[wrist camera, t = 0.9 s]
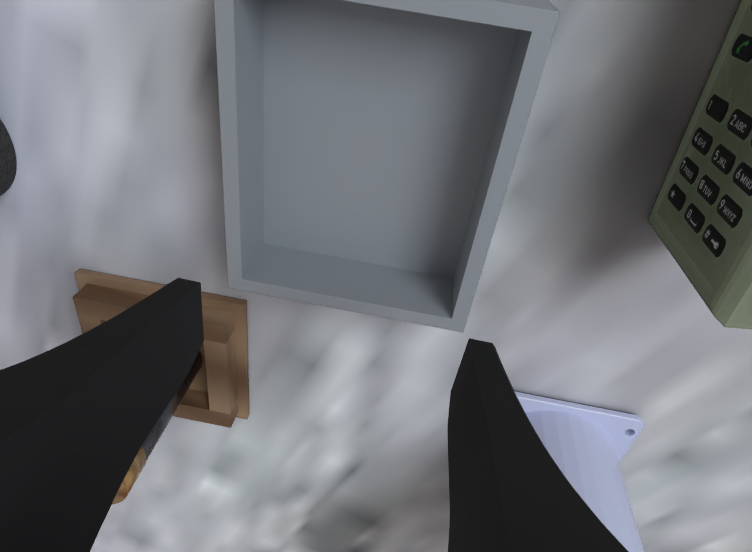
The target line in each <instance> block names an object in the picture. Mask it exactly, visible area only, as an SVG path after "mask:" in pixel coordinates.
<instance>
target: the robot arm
mask: <svg viewBox="0 0 752 552" xmlns="http://www.w3.org/2000/svg"><path fill="white" fill-rule="evenodd" d="M203 341H204V331H203V315H202V299H201V283H200V282H195V281H190V280H185V279H181V278H177V279H176V280H174V281H172V282H171V283H169V284H167V285H166V286H164V287H162V288H161V289H159V290H158V291H156V292H154V293H153V294H151V295H150V296H148V297H146V298H145V299H143V300H141V301H140V302H138V303H136V304H135V305H133V306H131V307H130V308H128V309H126V310H125V311H123V312H121V313H120V314H118V315H116V316H115V317H113V318H111V319H109V320H108V321H106V322H104V323H102V324H100V325H98V326H97V327H95V328H93V329H91V330H89V331H87V332H85V333H84V334H82V335H80V336H78V337H76V338H74V339H72V340H70V341H68V342H66V343H64V344H62V345H60V346H58V347H56V348H53V349H51V350H49V351H47V352H44V353H42V354H40V355H38V356H35V357H33V358H31V359H28V360H26V361H24V362H21V363H18V364H16V365H13V366H10V367H8V368H5V369H2V370H0V552H90V550H91V548H92V545H93V543H94V541H95V539H96V537H97V534H98V532H99V530H100V528H101V526H102V523H103V521H104V519H105V517H106V515H107V513H108V511H109V509H110V507H111V505H112V503H113V501H114V498H115V496H116V494H117V492H118V490H119V488H120V486H121V484H122V482H123V480H124V478H125V476H126V474H127V472H128V471H129V469H130V467H131V465H132V463H133V461H134V459H135V457H136V455H137V453H138V452H139V450H140V448H141V447H142V445H143V443H144V441H145V440H146V438H147V437H148V435H149V434H150V432H151V431H152V429H153V427H154V426H155V424H156V423H157V421H158V420H159V418H160V417H161V415H162V414H163V412H164V410H165V409H166V407H167V406H168V404H169V403H170V401H171V400H172V398H173V397H174V395H175V393H176V392H177V390H178V389H179V387H180V386H181V384H182V382H183V381H184V379H185V378H186V376H187V374H188V373H189V371H190V369H191V367H192V365H193V363H194V361H195V359H196V356H197V354H198V352H199V350H200V348H201V345H202V343H203ZM643 426H644V424H643V421H642V418H641V417H640V416H637V415H633V414H628V413H623V412H618V411H613V410H607V409H602V408H597V407H592V406H587V405H582V404H576V403H571V402H566V401H561V400H556V399H551V398H545V397H540V396H535V395H530V394H525V393H520V392H515V391H514V390H513V388H512V385H511V383H510V381H509V379H508V377H507V375H506V372H505V370H504V368H503V365H502V363H501V361H500V358H499V356H498V353H497V351H496V348H495V347H494V345H493V343H489V342H484V341H479V340H474V339H470V338H469V340H468V343H467V346H466V349H465V352H464V355H463V358H462V361H461V364H460V367H459V369H458V372H457V375H456V378H455V381H454V384H453V387H452V390H451V395H450V406H449V417H448V461H449V492H450V529H449V544H448V552H644V550H643V546H642V543H641V539H640V536H639V532H638V529H637V525H636V522H635V518H634V515H633V511H632V508H631V504H630V501H629V497H628V494H627V491H626V487H625V484H624V480H623V477H622V473H621V470H620V466H619V463H620V461H621V460H622V458H623V457H624V455H625V454H626V452H627V451H628V449H629V448H630V446H631V445H632V443H633V442H634V440H635V439H636V437H637V436H638V434H639V433H640V431H641V430H642V428H643ZM628 429H629V430H628Z"/></svg>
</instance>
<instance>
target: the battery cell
mask: <svg viewBox="0 0 752 552" xmlns="http://www.w3.org/2000/svg"><path fill="white" fill-rule="evenodd" d="M201 366H202V355H201V352H200V350H199V352H198V354H197V356H196V359H195V361H194V363H193V365H192V367H191V369H190V371H189V373H188V374H187V376H186V378H185V379H184V381H183V382H182V384H181V386H180V387H179V389H178V390H177V392H176V393H175V395H174V397H173V398H172V400H171V401H170V403H169V404H168V406H167V407H166V409H165V410H164V412H163V414H162V415H161V417H160V418H159V420H158V421H157V423H156V424H155V426H154V427H153V429H152V431H151V432H150V434H149V435H148V437H147V438H146V440H145V441H144V443H143V445H142V447H141V448H140V450H139V452H138V453H137V455H136V457H135V459H134V461H133V463H132V465H131V467H130V469H129V471H128V472H127V474H126V476H125V478H124V480H123V482H122V484H121V486H120V488H119V490H118V492H117V494H116V496H115V498H114V501H113V503H112V504H116V503H119V502H121V501H123V500H124V499H125V498H126V496H127V495H128V493H129V491H130V490H131V488H132V486H133V485H134V483H135V481H136V479H137V478H138V476H139V474H140V473H141V471H142V469H143V467H144V466H145V464H146V460H147V459H148V457H149V455H150V453H151V452H152V450H153V448H154V447H155V445H156V443H157V442H158V440H159V438H160V436H161V435H162V433H163V431H164V430H165V428H166V426H167V425H168V423H169V421H170V419H171V418H172V416H173V414H174V413H175V411H176V409H177V408H178V406H179V404H180V403H181V401H182V399H183V397H184V396H185V394H186V392H187V391H188V389H189V387H190V386H191V384H192V382H193V380H194V379H195V377H196V375H197V374H198V372H199V370H200V369H201Z"/></svg>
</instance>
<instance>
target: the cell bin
mask: <svg viewBox="0 0 752 552" xmlns="http://www.w3.org/2000/svg"><path fill="white" fill-rule="evenodd" d="M214 11H215V31H216V52H217V72H218V92H219V113H220V133H221V153H222V174H223V194H224V214H225V235H226V255H227V275H228V288H232V289H237V290H242V291H247V292H253V293H258V294H263V295H268V296H274V297H279V298H284V299H289V300H295V301H300V302H305V303H310V304H316V305H321V306H326V307H332V308H337V309H342V310H347V311H353V312H358V313H363V314H368V315H374V316H379V317H384V318H389V319H395V320H400V321H405V322H410V323H416V324H421V325H426V326H432V327H437V328H442V329H447V330H453V331H458V332H463V331H464V328H465V325H466V322H467V318H468V315H469V312H470V308H471V305H472V302H473V298H474V295H475V292H476V288H477V285H478V282H479V279H480V275H481V272H482V269H483V265H484V262H485V259H486V255H487V252H488V249H489V245H490V242H491V239H492V236H493V232H494V229H495V226H496V222H497V219H498V216H499V212H500V209H501V206H502V202H503V199H504V196H505V192H506V189H507V186H508V183H509V179H510V176H511V173H512V169H513V166H514V163H515V159H516V156H517V153H518V149H519V146H520V143H521V140H522V136H523V133H524V130H525V126H526V123H527V120H528V116H529V113H530V110H531V106H532V103H533V100H534V97H535V93H536V90H537V87H538V83H539V80H540V77H541V73H542V70H543V67H544V63H545V60H546V57H547V54H548V50H549V47H550V44H551V40H552V37H553V34H554V30H555V27H556V24H557V20H558V17H559V14H560V11H559V10H558V9H557V8H556V7H554V6H553V5H552V4H551V3H550V2H549V1H548V0H214Z"/></svg>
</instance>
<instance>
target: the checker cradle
mask: <svg viewBox="0 0 752 552" xmlns="http://www.w3.org/2000/svg"><path fill="white" fill-rule="evenodd" d="M75 276H76V280H77V284H78V287H79V292H78V293H77V294H75V295H74V296H73V300H74V303H75V307H76V311H77V314H78V318H79V322H80V325H81V329H82V333H83V334H84V333H85V332H87V331H89V330H91V329H93V328H95V327H97V326H98V325H100V324H102V323H104V322H106V321H108V320H109V319H111V318H113V317H115V316H116V315H118V314H120V313H121V312H123V311H125V310H126V309H128V308H130V307H131V306H133V305H135V304H136V303H138V302H140V301H141V300H143V299H145V298H146V297H148V296H150V295H151V294H153V293H154V292H156V291H158V290H159V289H161V288H162V287H164V286H166V285H162V284H157V283H152V282H147V281H141V280H136V279H131V278H126V277H120V276H115V275H110V274H105V273H100V272H94V271H89V270H84V269H79V270H77V271H76V272H75ZM201 299H202V315H203V331H204V341H203V343H202V345H201V348H200V352H201V355H202V366H201V369H200V370H199V372H198V374H197V375H196V377H195V379H194V380H193V382H192V384H191V386H190V387H189V389H188V391H187V392H186V394H185V396H184V397H183V399H182V401H181V403H180V404H179V406H178V408H177V409H176V411H175V413H174V414H173V416H175V417H180V418H185V419H190V420H195V421H200V422H205V423H210V424H215V425H220V426H225V427H230V428H231V426H232V424H233V422H234V420H235V417H238V418H243V419H247V418H248V416H249V378H248V336H247V301H246V300H241V299H236V298H231V297H225V296H220V295H215V294H210V293H204V292H201Z"/></svg>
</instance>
